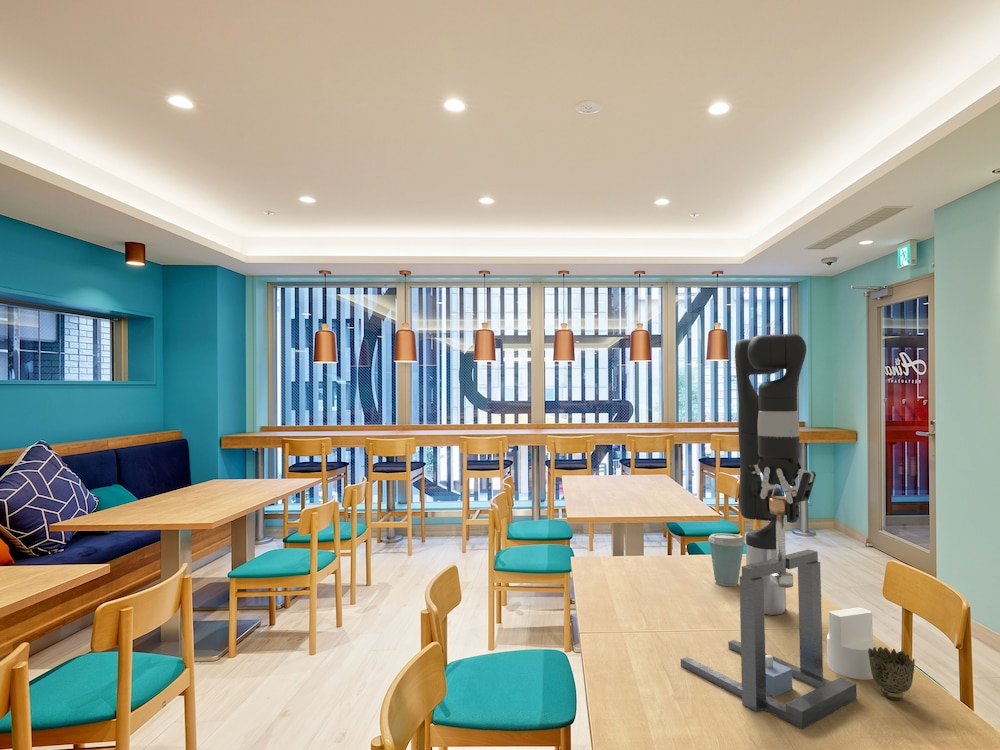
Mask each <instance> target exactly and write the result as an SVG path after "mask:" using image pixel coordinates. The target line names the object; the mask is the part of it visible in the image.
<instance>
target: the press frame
mask: <svg viewBox="0 0 1000 750" xmlns="http://www.w3.org/2000/svg"><path fill="white" fill-rule="evenodd" d="M818 554H819V553H818V551H817V550H812V549H805V550H801V551H796V552H793V553H788V554H786V570H792V569H795V568H797V586H798V589H797V591H798V623H799V624H798V626H799V627H798V629H799V630H798V631H799V634H798V635H799V666H797V665H794V664H792V663H789V662H787V661H785V660H783V659H780V658H777V657H776V656H773V661H775V662H777V663H779V664H782V665H784V666H786V667H789V668H791V669H792V678H795V679H797V680H799V681H801V682H804V683H805V684H808V685H810V686H812V687H814V688H816V689H813V690H811V691H809V692H807V693H805V694H803V695H801V696H798V697H797V698H795V699H792V700H791V701H788V702H786V703H785V704H783V703H781V702H779V701H778V700H776V699H773V698H771V697H769V696H767V693H766V665H765V655H770V654H769V653H766V634H765V633H766V632H765V631H766V629H765V625H766V623H765V614H764V578H762V577H764V576H768V575H771V574H775V573H778V572H782V571H783V561H781V560H777V559H774V558H773V559H769V560H765V561H761V562H757V563H753V564H749V565H741V575H739V610H740V611H739V614H740V615H739V616H740V617H739V618H740V620H739V621H740V641H738V640H736V639H732V640H729V641H728V649H729V650H732V651H733V652H736V653H738V654H740V661H741V663H740V664H741V665H740V666H741V682H739V681H737V680H735V679H733V678H730V677H729V676H727V675H725V674H723V673H721V672H718V671H717V670H716V669H713V668H710V667H709V666H706V665H705V664H702V663H700V662H698V661H697V660H694V659H692V658H690V657H689V656H684V657H683V658H680V667H681V668H684V669H685V670H688V671H689V672H691V673H693V674H696V675H697V676H699V677H702V678H703V679H705V680H707V681H709V682H711V683H712V684H715V685H717V686H718V687H721V688H723V689H724V690H727V692H729V693H732V694H734V695H736V696H738V697H740V698H741V704H742V706H745V707H746V708H747V709H750V710H752V711H754V712H755V713H756V712H760V711H762V710H764V711H767V712H768V713H770V714H772V715H775V716H776V717H778V718H780V719H782V720H784V721H786V722H788V723H790V724H791V725H793V726H795V727H797V728H799V729H801V730H804V729H805V728H807V727H809V726H811V725H813V724H814V723H816V722H818V721H820V720H822V719H824V718H826V717H827V716H830V715H831V714H833V713H835V712H837V711H839V710H841V709H843V708H844V707H846V706H847V705H850V704H852V703H854V702H855V701H857V700H858V696H857V693H858V692H857V684H856V683H855V682H853V681H851V680H847V679H845V678H843V677H841V676H839V677H838V678H836V679H833V680H829V679H827V678H825V677H824V663H823V659H824V658H823V657H824V655H823V622H822V621H823V620H822V619H823V618H822V613H823V612H822V585H821V584H822V582H821V581H822V580H821V577H822V576H821V575H822V573H821V561H818V560H819V559H818V558H819V557H818V556H819V555H818Z"/></svg>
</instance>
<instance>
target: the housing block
mask: <svg viewBox="0 0 1000 750" xmlns="http://www.w3.org/2000/svg"><path fill="white" fill-rule="evenodd" d="M773 657H774V656H773V655H771V654H769V655H765V665H766V695H769V696H771V697H774V698H775V697H777V696H780V695H781V694H783V693H785V692H788V691H791V690H792V689H793V677H792V669H791V668H789V667H786V666H784V665H782V664H779V663H777V662H775V661H773Z"/></svg>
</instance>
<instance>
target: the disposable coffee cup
mask: <svg viewBox="0 0 1000 750" xmlns="http://www.w3.org/2000/svg"><path fill="white" fill-rule="evenodd" d="M708 542H709V547H710V555H711V560H712V561H711V562H712V569H713V574H714V581H715V583H716V584H718V585H720V586H723V587H736V586H737V585H738V583H739V581H740V573H741V568H742V561H743V560H742V558H743V552H744V547H745V546H746V541H745V539H744V536H743V535H740V534H734V533H712V534H710V535H709V537H708Z"/></svg>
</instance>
